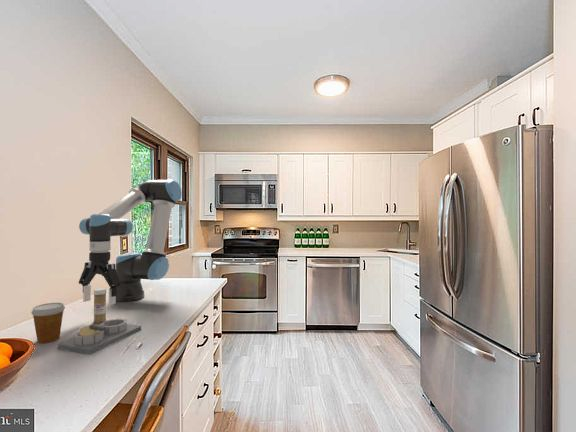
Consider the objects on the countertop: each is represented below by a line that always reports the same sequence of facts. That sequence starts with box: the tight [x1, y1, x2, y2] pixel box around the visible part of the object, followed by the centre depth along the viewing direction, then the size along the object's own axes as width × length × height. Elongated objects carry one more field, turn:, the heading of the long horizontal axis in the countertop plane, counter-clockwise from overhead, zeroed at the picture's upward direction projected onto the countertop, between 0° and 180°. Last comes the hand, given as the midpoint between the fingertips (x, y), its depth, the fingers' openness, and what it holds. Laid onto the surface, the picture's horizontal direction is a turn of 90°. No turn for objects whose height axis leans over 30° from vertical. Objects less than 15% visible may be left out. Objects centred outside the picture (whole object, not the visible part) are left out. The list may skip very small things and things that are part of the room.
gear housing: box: [57, 318, 142, 355], centre depth 113 cm, size 22×14×6 cm, turn 162°
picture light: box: [118, 338, 143, 357], centre depth 107 cm, size 14×4×2 cm, turn 7°
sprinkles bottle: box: [93, 287, 107, 324], centre depth 130 cm, size 5×5×14 cm
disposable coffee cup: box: [30, 302, 66, 344], centre depth 112 cm, size 10×10×12 cm
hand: (99, 302), depth 130 cm, fingers open, 13 cm apart
